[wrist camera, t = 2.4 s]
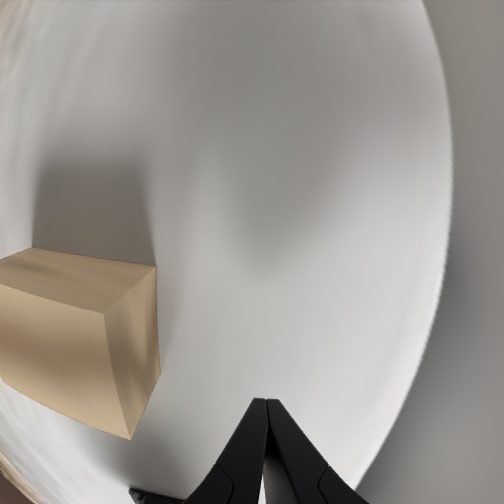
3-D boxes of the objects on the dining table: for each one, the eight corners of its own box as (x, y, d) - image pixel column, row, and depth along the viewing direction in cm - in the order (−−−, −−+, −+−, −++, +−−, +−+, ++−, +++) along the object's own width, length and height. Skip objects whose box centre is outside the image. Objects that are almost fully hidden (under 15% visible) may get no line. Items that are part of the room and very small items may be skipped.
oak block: (161, 372, 13) (130, 440, 8) (48, 340, 13) (3, 381, 8) (157, 265, 12) (103, 313, 7) (33, 246, 11) (-31, 271, 7)
